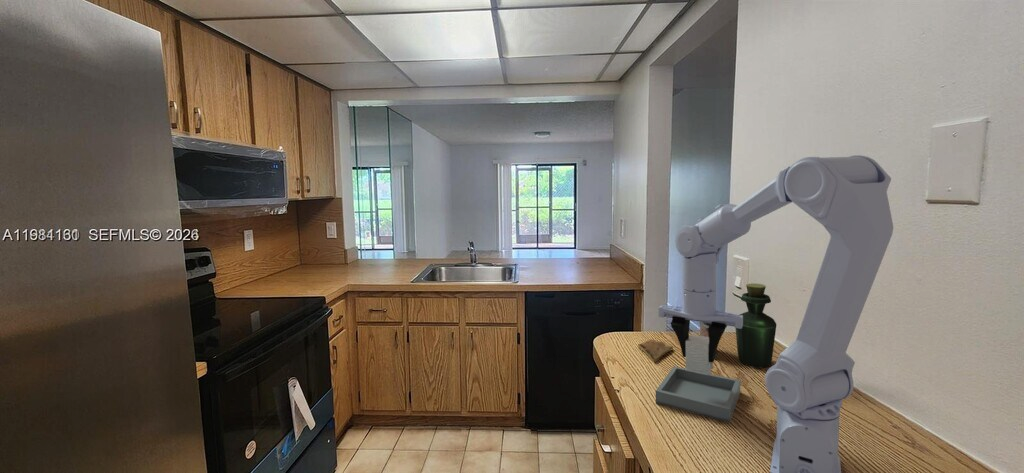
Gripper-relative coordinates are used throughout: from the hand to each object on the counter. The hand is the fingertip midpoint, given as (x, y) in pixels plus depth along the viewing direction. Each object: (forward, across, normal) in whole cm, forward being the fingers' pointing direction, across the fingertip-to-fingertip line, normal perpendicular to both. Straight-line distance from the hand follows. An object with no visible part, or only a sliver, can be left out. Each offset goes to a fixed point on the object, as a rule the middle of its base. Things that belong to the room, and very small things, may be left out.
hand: (698, 357), depth 78 cm
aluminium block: (+2, 0, 0) cm, 2 cm away
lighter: (+8, +3, -24) cm, 26 cm away
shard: (+9, +13, -18) cm, 24 cm away
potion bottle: (+8, -7, -23) cm, 25 cm away
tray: (+8, 0, 0) cm, 8 cm away
